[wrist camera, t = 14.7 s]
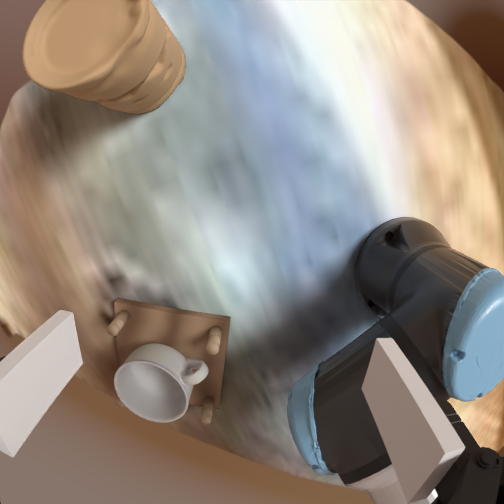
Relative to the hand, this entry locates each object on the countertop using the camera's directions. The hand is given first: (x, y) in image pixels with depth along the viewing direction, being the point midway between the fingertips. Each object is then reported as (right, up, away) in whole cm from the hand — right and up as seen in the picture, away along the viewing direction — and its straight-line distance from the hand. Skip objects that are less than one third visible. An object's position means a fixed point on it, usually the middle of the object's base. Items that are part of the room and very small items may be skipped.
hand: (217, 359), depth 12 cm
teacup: (-11, -12, +33) cm, 37 cm away
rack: (-11, -12, +34) cm, 38 cm away
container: (-13, +29, +23) cm, 39 cm away
